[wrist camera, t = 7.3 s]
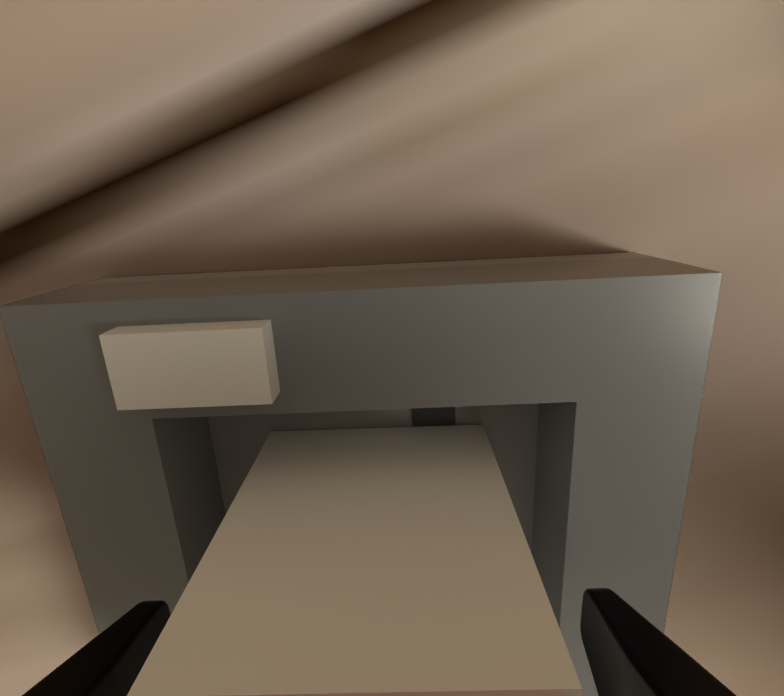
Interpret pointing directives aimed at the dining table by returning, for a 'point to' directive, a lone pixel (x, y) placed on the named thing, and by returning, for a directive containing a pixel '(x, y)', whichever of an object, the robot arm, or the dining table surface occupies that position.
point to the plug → (366, 578)
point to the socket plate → (375, 404)
